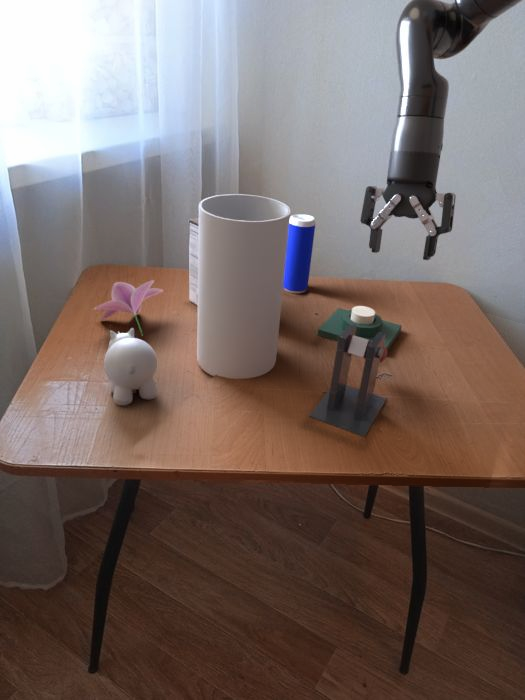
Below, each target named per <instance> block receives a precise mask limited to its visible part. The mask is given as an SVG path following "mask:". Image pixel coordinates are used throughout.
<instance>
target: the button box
mask: <svg viewBox="0 0 525 700" xmlns="http://www.w3.org/2000/svg"><path fill="white" fill-rule="evenodd" d="M351 312H352V308H350V309H345V308H341V307H338V308H337V309H336V310H335V311H334V312H333V313H332V314H331V316H329V317H328V318H327V319H326V320H325V321H324V323H322V325H320V326H319V328H318V329H317V337H322V338H325V339H328V340H332V341H334V342H338V338H339V336H340V335H341V334H342V332H343V331H344V330H345V329H346V328H347V327H348V326H349V324H353V325H356V326H357V328H356V334H355V336H357V337H361V338H364V339H367V340H370V341H372V340H373V339H374V337H375V336H376V335H377V333H378V332H380V333H384V334H386V335H385V340H384V345H385V347H386V349H387V352H388V351H389V349H390V348H391V346H392V345H393V344H394V342H395V340H396V339H397V338H398V336H399V334H400V333H401V331H402V325H400V324H397V323H394V322H390V321H386V320H383V319H382V317H381V316H380V315H379V314H377V313H376V312H375V317H374V322H373V324H369V325H365V324H359V323H355V322H353V321H352V320H351V319H350V318H351Z"/></svg>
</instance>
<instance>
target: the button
mask: <svg viewBox="0 0 525 700" xmlns="http://www.w3.org/2000/svg"><path fill="white" fill-rule="evenodd" d="M351 309H352V312H351V318H350V319H351V320H352V321H353V322H355V323H359V324H365V325H369V324H373V322H374V317H375V313H376V311H375V310H374V309H373V308H372V307H369V306H365V305H357V306H353V307H352V308H351Z"/></svg>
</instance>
